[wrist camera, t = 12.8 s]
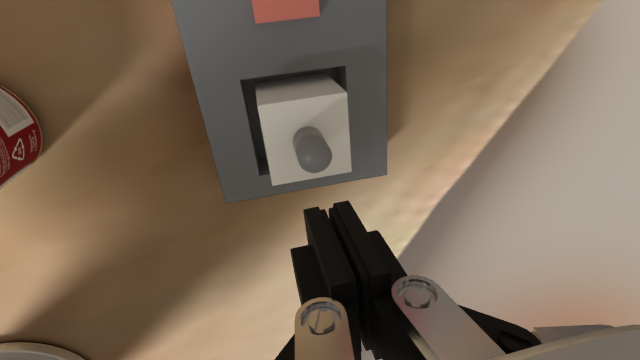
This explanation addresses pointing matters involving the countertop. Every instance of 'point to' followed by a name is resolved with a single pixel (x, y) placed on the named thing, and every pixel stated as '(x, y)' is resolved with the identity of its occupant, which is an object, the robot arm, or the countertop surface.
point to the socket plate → (278, 63)
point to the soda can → (17, 136)
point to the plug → (304, 127)
